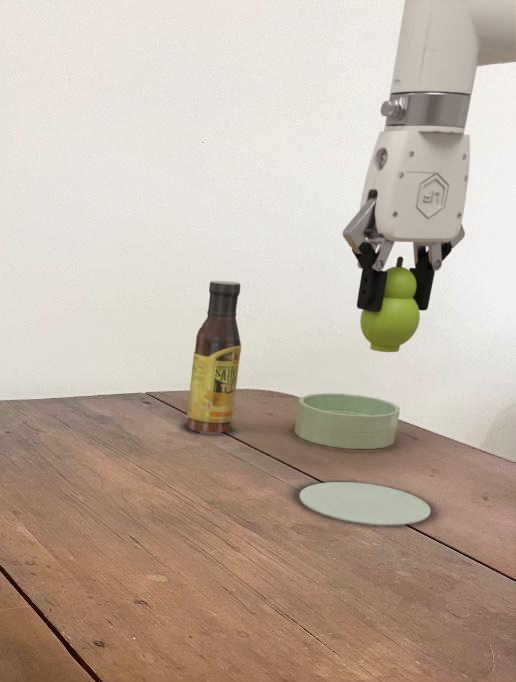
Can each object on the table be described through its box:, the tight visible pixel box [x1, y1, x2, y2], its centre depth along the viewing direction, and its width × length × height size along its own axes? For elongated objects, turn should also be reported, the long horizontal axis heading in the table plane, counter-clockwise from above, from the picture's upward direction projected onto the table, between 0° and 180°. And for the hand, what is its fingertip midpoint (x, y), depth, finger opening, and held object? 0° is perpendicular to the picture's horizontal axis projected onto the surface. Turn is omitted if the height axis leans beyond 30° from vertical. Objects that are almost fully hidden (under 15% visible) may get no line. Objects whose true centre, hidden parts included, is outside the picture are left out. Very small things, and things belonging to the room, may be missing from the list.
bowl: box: [293, 392, 401, 450], centre depth 126 cm, size 13×13×5 cm
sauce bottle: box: [186, 280, 242, 434], centre depth 125 cm, size 6×6×20 cm
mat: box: [299, 481, 432, 526], centre depth 102 cm, size 14×14×1 cm
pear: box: [359, 256, 421, 353], centre depth 97 cm, size 6×6×10 cm
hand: (392, 307), depth 97 cm, fingers closed on pear, 5 cm apart
